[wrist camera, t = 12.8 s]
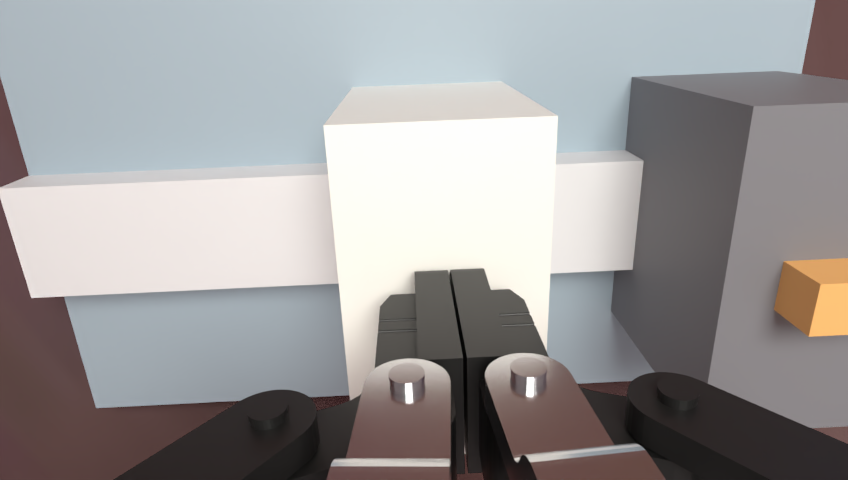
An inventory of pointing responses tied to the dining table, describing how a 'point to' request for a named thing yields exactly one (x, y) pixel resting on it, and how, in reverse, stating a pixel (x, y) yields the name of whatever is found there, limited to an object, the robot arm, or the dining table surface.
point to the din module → (437, 197)
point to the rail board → (281, 117)
